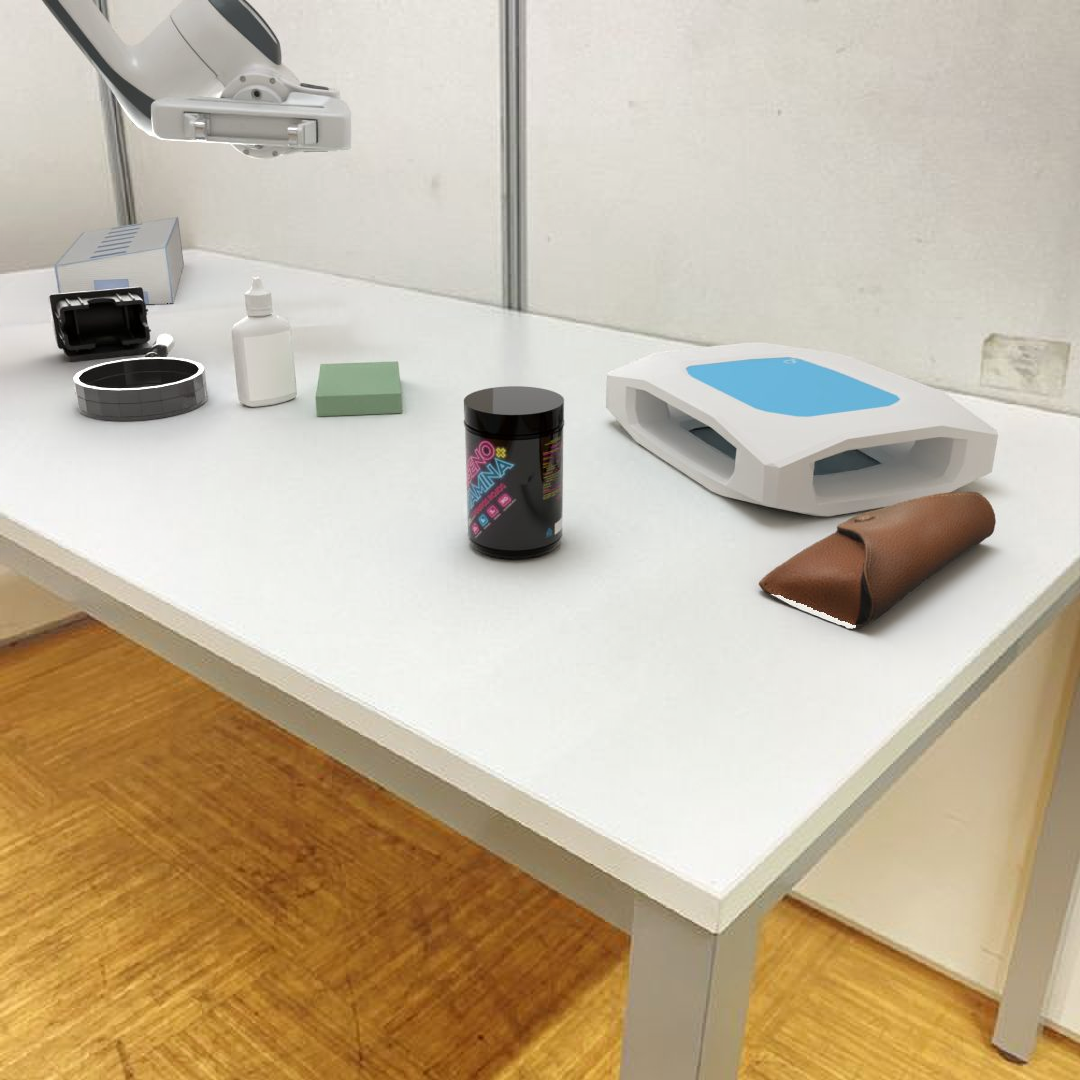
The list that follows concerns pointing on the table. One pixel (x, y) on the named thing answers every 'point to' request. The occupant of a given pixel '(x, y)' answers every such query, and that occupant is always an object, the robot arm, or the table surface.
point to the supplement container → (514, 470)
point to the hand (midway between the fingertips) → (246, 134)
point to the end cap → (100, 323)
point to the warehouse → (125, 260)
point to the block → (358, 389)
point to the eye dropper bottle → (263, 352)
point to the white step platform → (799, 426)
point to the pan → (140, 389)
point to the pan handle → (161, 347)
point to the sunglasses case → (882, 555)
